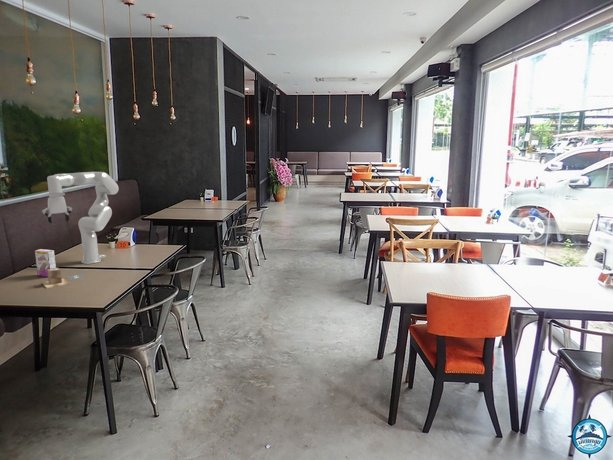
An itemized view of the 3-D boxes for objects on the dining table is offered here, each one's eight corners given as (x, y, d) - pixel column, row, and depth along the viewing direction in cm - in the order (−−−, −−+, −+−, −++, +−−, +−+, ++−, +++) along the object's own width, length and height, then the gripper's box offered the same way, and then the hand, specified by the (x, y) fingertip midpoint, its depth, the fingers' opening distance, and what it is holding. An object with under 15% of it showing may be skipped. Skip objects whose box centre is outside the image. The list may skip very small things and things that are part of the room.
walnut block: (59, 280, 286) (58, 267, 285) (62, 282, 282) (60, 269, 280) (48, 282, 283) (47, 269, 281) (50, 284, 278) (49, 271, 277)
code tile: (81, 274, 302) (81, 273, 302) (85, 277, 295) (85, 277, 295) (66, 276, 296) (66, 276, 296) (69, 280, 290) (69, 279, 290)
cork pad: (63, 279, 291) (63, 278, 291) (68, 284, 282) (68, 282, 281) (42, 283, 283) (41, 282, 283) (46, 288, 274) (46, 287, 274)
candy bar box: (37, 276, 299) (34, 250, 295) (43, 273, 303) (40, 248, 300) (50, 277, 295) (47, 251, 292) (57, 275, 300) (54, 250, 296)
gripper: (69, 193, 308) (72, 219, 312) (39, 196, 297) (42, 222, 301) (72, 194, 302) (75, 221, 306) (41, 197, 292) (45, 224, 295)
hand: (58, 222), depth 303 cm, fingers open, 9 cm apart
